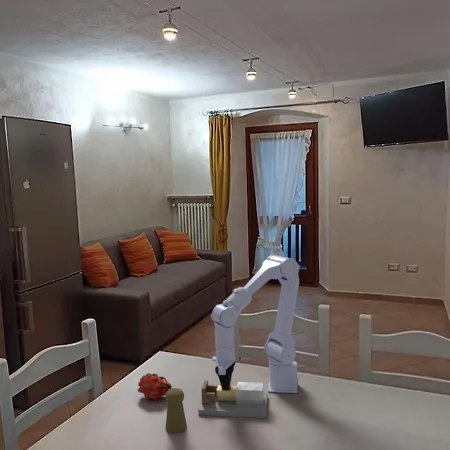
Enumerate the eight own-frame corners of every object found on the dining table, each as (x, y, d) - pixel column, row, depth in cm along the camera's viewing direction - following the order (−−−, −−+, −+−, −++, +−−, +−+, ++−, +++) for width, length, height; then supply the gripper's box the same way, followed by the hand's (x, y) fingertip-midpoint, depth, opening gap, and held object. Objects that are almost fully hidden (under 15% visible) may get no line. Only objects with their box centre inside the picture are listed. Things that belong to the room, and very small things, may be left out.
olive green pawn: (183, 434, 118) (181, 396, 117) (162, 432, 120) (160, 395, 119) (189, 422, 124) (187, 386, 123) (169, 420, 126) (167, 384, 124)
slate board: (267, 397, 137) (267, 392, 137) (265, 418, 125) (265, 413, 125) (205, 394, 140) (205, 390, 140) (198, 414, 128) (198, 409, 128)
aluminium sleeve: (263, 398, 134) (263, 382, 133) (262, 406, 129) (262, 390, 128) (238, 397, 135) (237, 381, 134) (236, 405, 130) (235, 389, 129)
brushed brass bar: (256, 396, 133) (256, 374, 132) (256, 401, 130) (255, 379, 129) (218, 395, 135) (217, 373, 134) (217, 400, 132) (216, 377, 131)
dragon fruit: (137, 398, 142) (171, 408, 139) (128, 394, 135) (163, 404, 132) (146, 372, 146) (179, 381, 143) (138, 367, 139) (172, 376, 135)
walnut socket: (217, 395, 136) (217, 380, 136) (214, 405, 131) (214, 389, 130) (205, 395, 137) (204, 380, 136) (202, 404, 131) (201, 388, 131)
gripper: (215, 335, 139) (217, 375, 140) (207, 353, 124) (209, 398, 126) (237, 335, 138) (238, 376, 139) (231, 354, 123) (233, 399, 125)
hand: (226, 386), depth 132 cm, fingers closed on brushed brass bar, 2 cm apart
